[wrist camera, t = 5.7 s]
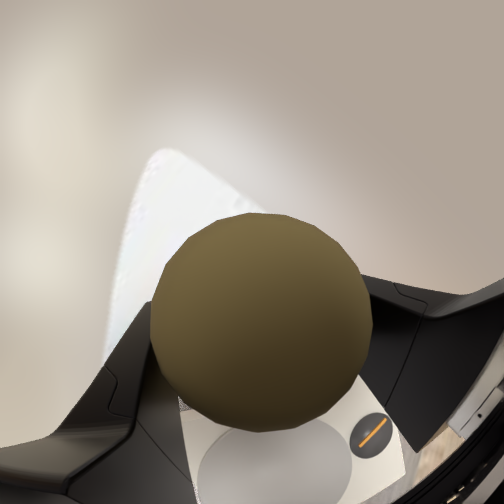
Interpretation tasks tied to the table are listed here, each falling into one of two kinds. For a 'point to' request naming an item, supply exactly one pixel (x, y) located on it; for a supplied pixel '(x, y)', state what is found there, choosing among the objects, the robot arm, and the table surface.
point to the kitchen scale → (297, 456)
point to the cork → (261, 322)
